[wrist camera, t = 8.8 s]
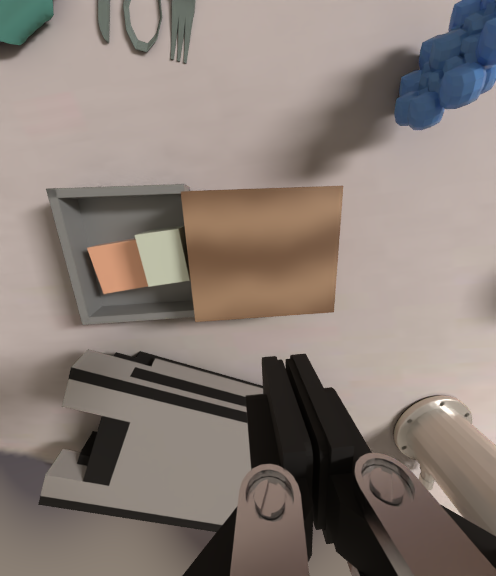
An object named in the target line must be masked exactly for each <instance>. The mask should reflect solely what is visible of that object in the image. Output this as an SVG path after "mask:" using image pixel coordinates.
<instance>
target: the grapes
mask: <svg viewBox="0 0 496 576" xmlns="http://www.w3.org/2000/svg"><path fill="white" fill-rule="evenodd" d="M448 30H449V32H448V33H446V34H442V35H437V36H435V37H433V38H431V39H429V40H427V41H425V42H423V43H422V46H421V50H420V56H419V67H420V70H415V71H413V72H410V73H408V74H406V75H404V76H403V77H402V78H401V82H400V89H399V96H400V97H398V98H397V99H396V104H395V111H394V116H395V121H396V123H397V124H399V125H400V126H408V125H409V126H410V127H411V128H412V129H413V130H423V129H426V128H429V127H431V126H434V125H435V124H437V123H439V122H440V121H441V118H442V116H443V113H444V109H457V108H459V107H462V106H465V105H468V104H470V103H472V102H474V101H475V100H477V99H478V97H479V95H480V94H482V93H485V92H487V91H488V90H490V89H491V88H492V87H493V85H494V83H495V81H496V0H462V1H460V2H458V3H456V4H455V5H454V8H453V11H452V14H451V19H450V24H449V29H448Z"/></svg>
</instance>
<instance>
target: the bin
mask: <svg viewBox="0 0 496 576" xmlns="http://www.w3.org/2000/svg"><path fill="white" fill-rule="evenodd" d="M46 191H47V194H48V198H49V202H50V206H51V209H52V213H53V217H54V221H55V224H56V228H57V232H58V235H59V239H60V243H61V247H62V250H63V254H64V258H65V261H66V265H67V269H68V273H69V276H70V280H71V284H72V288H73V291H74V295H75V299H76V302H77V306H78V310H79V314H80V317H81V321H82V325H87V324H101V323H115V322H130V321H144V320H159V319H173V318H188V317H195V314H194V305H193V297H192V288H191V279H190V281H184V282H177V283H170V284H164V285H157V286H150V287H148V286H147V287H141V288H136V289H130V290H124V291H119V292H113V293H107V294H104V293H103V291H102V288H101V285H100V282H99V280H98V277H97V274H96V271H95V269H94V266H93V263H92V260H91V258H90V255H89V252H88V250H87V248H88V247H92V246H95V245H98V244H104V243H110V242H116V241H122V240H128V239H133V238H135V235H136V234H139V233H143V232H146V231H149V230H155V229H162V228H169V227H176V226H183V225H184V217H183V208H182V199H181V191H190V187H188V186H186V185H184V184H175V185H144V186H114V187H83V188H53V189H46Z"/></svg>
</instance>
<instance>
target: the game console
mask: <svg viewBox="0 0 496 576" xmlns="http://www.w3.org/2000/svg"><path fill="white" fill-rule="evenodd" d="M255 394H263V386H261V385H257V384H254V383H250V382H247V381H243V380H240V379H236V378H233V377H229V376H226V375H222V374H219V373H215V372H212V371H208V370H205V369H201V368H197V367H194V366H190V365H187V364H183V363H180V362H176V361H173V360H169V359H166V358H162V357H159V356H155V355H152V354H148V353H144V352H141V351H140V352H139V354H138V356H137V357H136V358H135V357H131V356H128V355H124V354H120V353H117V352H116V353H115V354H114V355H113V356H111V355H107V354H103V353H100V352H96V351H92V350H89V349H88V350H87V351H86V352H85V353H84V354H83V355H82V356H81V357H80V359H79V360H78V361H77V362H76V363H75V364H74V365H73V366H72V367H71V370H70V374H69V379H68V383H67V387H66V391H65V395H64V400H63V404H62V407H66V408H70V409H74V410H79V411H83V412H88V413H92V414H96V415H101V416H102V418H101V421H100V425H99V428H98V432H94V431H93V432H92V434H91V436H90V437H89V439H88V441H87V442H86V444H85V446H84V447H83V449H82V451H81V452H76V451H71V450H66V449H63V450H62V451H61V453H60V454H59V455H58V457H57V458H56V460H55V461H54V463H53V464H52V466H51V467H50V469H49V470H48V472H47V473H46V475H45V479H44V484H43V488H42V492H41V496H40V500H39V505H45V506H51V507H58V508H64V509H71V510H77V511H84V512H90V513H97V514H103V515H110V516H116V517H123V518H129V519H136V520H142V521H149V522H155V523H161V524H168V525H174V526H181V527H187V528H194V529H201V530H207V531H213V532H217V531H218V530H219V529H220V527H221V526H222V525H223V524H224V522H225V521H226V520H227V519H228V517H229V516H230V515H231V513H232V512H233V511H234V510H235V508H236V507H237V506H238V496H239V490H240V486H241V482H242V481H243V479H244V477H245V476H246V474H247V473H248V472H249V471H251V461H250V449H249V437H248V424H247V410H246V395H255Z"/></svg>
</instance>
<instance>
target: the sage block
mask: <svg viewBox="0 0 496 576" xmlns="http://www.w3.org/2000/svg"><path fill="white" fill-rule="evenodd" d="M135 239H136V243H137V246H138V250H139V254H140V257H141V261H142V265H143V268H144V272H145V276H146V279H147V283H148V287H150V286H157V285H164V284H170V283H177V282H184V281H190V270H189V261H188V252H187V244H186V235H185V226H184V225H183V226H176V227H169V228H162V229H155V230H149V231H146V232H143V233H139V234H136V235H135Z"/></svg>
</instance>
